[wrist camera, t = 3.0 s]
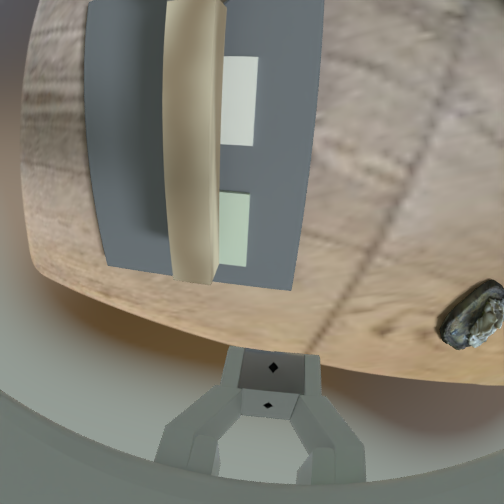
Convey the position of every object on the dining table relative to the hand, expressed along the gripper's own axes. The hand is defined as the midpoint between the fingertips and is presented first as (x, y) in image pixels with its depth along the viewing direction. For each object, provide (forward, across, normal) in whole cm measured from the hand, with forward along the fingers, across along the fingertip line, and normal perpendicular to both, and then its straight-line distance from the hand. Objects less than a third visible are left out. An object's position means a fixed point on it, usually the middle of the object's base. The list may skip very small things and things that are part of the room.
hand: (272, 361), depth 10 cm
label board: (+18, +8, -4) cm, 20 cm away
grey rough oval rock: (+18, -27, +13) cm, 35 cm away
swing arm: (+14, +6, -6) cm, 16 cm away
